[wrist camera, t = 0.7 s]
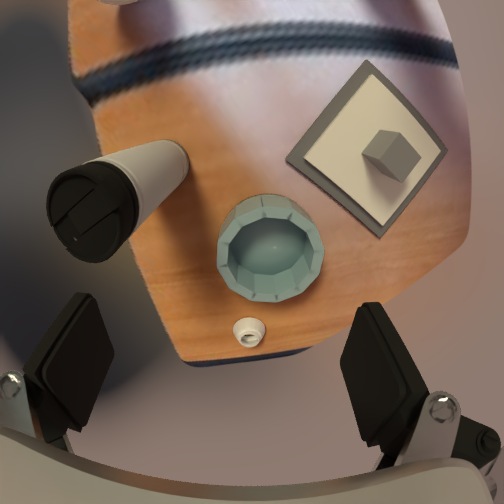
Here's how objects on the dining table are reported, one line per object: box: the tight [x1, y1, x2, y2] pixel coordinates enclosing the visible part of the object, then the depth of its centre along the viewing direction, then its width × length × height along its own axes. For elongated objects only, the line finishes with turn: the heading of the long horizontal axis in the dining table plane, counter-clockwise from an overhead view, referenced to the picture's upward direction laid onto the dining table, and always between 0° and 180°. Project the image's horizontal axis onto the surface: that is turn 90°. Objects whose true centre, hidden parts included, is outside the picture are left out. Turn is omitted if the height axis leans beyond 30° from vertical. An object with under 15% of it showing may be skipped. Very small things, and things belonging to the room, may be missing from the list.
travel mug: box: [46, 140, 189, 263], centre depth 22 cm, size 6×7×20 cm
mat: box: [285, 60, 448, 238], centre depth 30 cm, size 17×17×1 cm
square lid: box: [303, 74, 441, 226], centre depth 28 cm, size 14×14×6 cm
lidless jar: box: [233, 317, 265, 347], centre depth 42 cm, size 5×3×5 cm
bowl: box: [216, 194, 325, 303], centre depth 34 cm, size 12×12×6 cm
